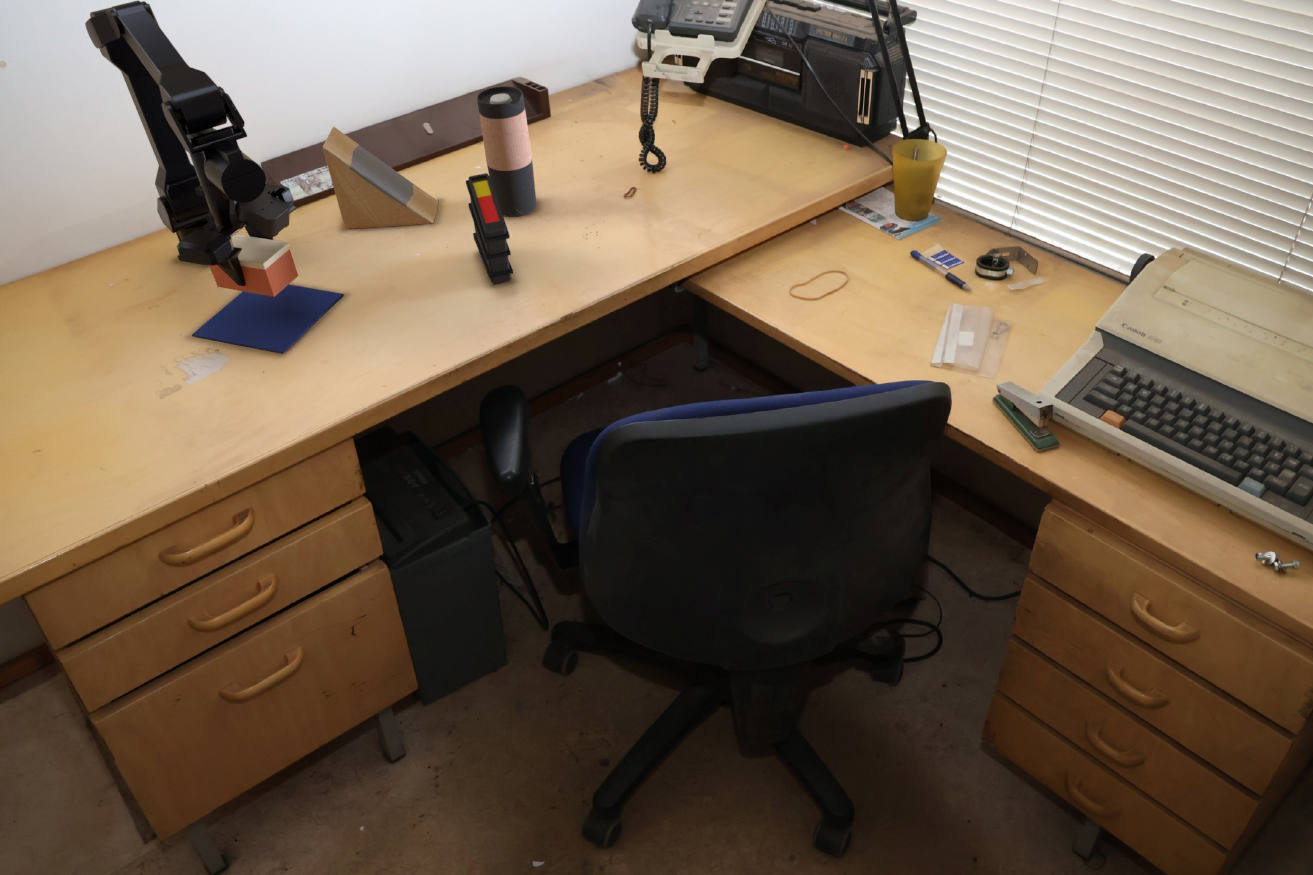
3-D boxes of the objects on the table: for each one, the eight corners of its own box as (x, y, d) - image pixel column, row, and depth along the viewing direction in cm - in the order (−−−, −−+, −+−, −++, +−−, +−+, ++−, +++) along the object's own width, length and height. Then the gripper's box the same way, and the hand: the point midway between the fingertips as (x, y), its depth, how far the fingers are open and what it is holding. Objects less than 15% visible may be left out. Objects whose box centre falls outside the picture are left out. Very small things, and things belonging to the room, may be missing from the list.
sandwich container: (434, 224, 172) (416, 141, 162) (344, 229, 172) (321, 147, 162) (439, 200, 178) (423, 119, 169) (353, 205, 178) (331, 124, 168)
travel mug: (495, 198, 178) (477, 87, 165) (538, 195, 178) (523, 84, 165) (493, 219, 172) (474, 106, 159) (538, 216, 173) (523, 102, 159)
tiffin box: (216, 287, 148) (203, 254, 144) (242, 266, 152) (230, 233, 148) (274, 297, 145) (263, 264, 141) (299, 275, 149) (288, 242, 146)
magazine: (493, 230, 166) (489, 170, 152) (514, 296, 161) (512, 240, 147) (471, 235, 165) (465, 175, 151) (491, 301, 160) (487, 245, 147)
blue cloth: (192, 336, 149) (191, 334, 149) (257, 280, 160) (257, 279, 160) (282, 353, 145) (282, 352, 144) (343, 295, 156) (343, 293, 156)
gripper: (226, 216, 129) (262, 317, 139) (309, 153, 142) (337, 250, 152) (156, 205, 132) (196, 305, 142) (244, 145, 145) (275, 240, 155)
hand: (255, 274), depth 148 cm, fingers closed on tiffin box, 6 cm apart
